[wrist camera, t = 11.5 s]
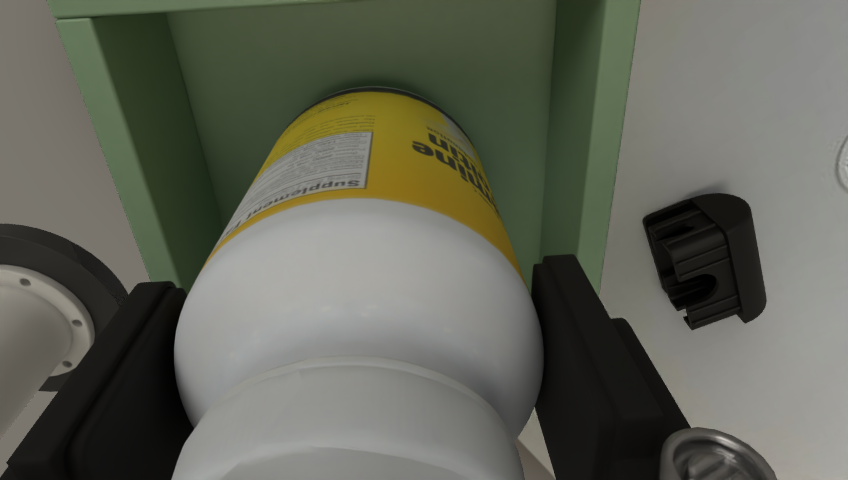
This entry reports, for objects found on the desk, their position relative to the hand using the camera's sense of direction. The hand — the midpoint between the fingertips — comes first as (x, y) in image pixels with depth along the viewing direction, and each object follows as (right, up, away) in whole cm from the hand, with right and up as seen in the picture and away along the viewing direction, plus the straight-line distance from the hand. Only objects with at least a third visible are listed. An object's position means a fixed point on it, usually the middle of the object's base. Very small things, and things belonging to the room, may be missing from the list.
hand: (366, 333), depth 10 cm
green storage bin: (0, +4, +8) cm, 9 cm away
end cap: (+25, +2, +38) cm, 46 cm away
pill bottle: (0, +4, +6) cm, 7 cm away
